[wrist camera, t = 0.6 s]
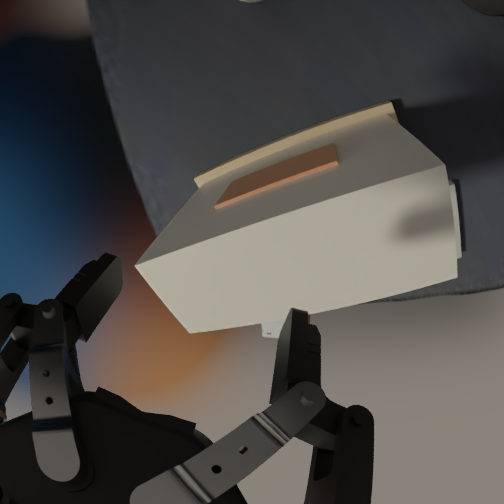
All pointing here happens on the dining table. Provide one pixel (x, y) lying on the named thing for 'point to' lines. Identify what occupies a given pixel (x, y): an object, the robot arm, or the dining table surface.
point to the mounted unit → (307, 226)
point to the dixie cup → (251, 0)
